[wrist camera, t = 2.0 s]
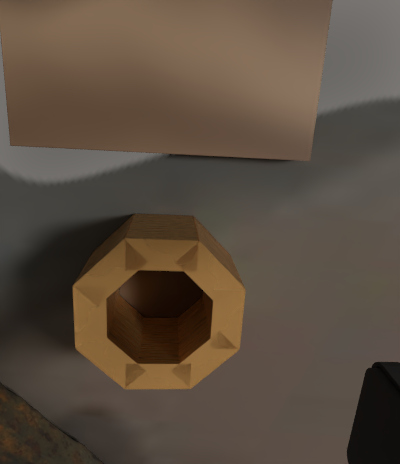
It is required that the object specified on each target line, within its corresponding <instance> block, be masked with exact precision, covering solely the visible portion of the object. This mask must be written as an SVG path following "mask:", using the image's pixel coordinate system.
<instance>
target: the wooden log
mask: <svg viewBox="0 0 400 464" xmlns="http://www.w3.org/2000/svg"><path fill="white" fill-rule="evenodd" d="M0 464H104V463H103V462H102V461H100V460H99V459H98V458H97V457H95V456H94V455H93V454H92V453H91V452H90V451H89V450H87V448H86V447H85V445H82V444H80V443H78V442H76V441H75V440H73V439H71V438H70V437H68V436H67V435H66V434H64V433H63V432H62V431H60V430H59V429H58V428H56V427H55V426H54V425H53V424H52V423H50V422H49V421H48V420H46V419H45V418H44V417H43V416H42V415H41V414H40V413H39V412H38V411H37V410H36V409H34V408H33V407H31V406H30V405H28V404H27V403H26V402H25V401H24V400H23V399H22V398H21V397H19V396H18V395H16V394H14V393H12V392H10V391H9V390H7V389H6V388H5V387H4V386H3V385H2V384H1V383H0Z"/></svg>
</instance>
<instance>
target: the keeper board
mask: <svg viewBox="0 0 400 464" xmlns="http://www.w3.org/2000/svg"><path fill="white" fill-rule="evenodd" d="M332 1H333V0H0V32H1V44H2V55H3V66H4V77H5V88H6V100H7V112H8V123H9V134H10V145H11V146H29V147H49V148H69V149H88V150H108V151H127V152H128V151H129V152H146V153H166V154H185V155H204V156H224V157H243V158H263V159H282V160H302V161H310V157H311V150H312V143H313V136H314V129H315V122H316V115H317V108H318V101H319V93H320V86H321V79H322V71H323V65H324V58H325V51H326V44H327V36H328V30H329V22H330V15H331V8H332Z"/></svg>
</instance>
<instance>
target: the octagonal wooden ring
mask: <svg viewBox="0 0 400 464" xmlns="http://www.w3.org/2000/svg"><path fill="white" fill-rule="evenodd" d="M138 270H153V271H184V272H185V273H186V274H187V275H188V276H189V277H190V278H191V279H192V280H193V281H194V282H195V283H196V284H197V285H198V286H199V287H200V288H201V289H202V290H203V297H202V298H201V299H199V300H198V301H197V302H196V303H195V304H194V305H192V306H191V307H190V308H189V309H188V310H186V311H185V312H184V313H183V314H182V315H181V316H179V317H178V318H156V317H143V316H142V315H141V314H140V313H139V312H137V311H136V310H135V309H134V308H133V307H132V306H131V305H130V304H129V303H128V302H126V301H125V300H124V299H123V298H122V297H121V296H120V295H119V287H120V286H121V285H122V284H123V283H125V282H126V281H127V280H128V279H129V278H130V277H131V276H132V275H134V274H135V273H136V272H137V271H138ZM244 300H245V287H244V285H243V283H242V280H241V278H240V276H239V274H238V271H237V269H236V267H235V264H234V262H233V260H232V258H231V255H230V254H229V253H228V252H227V251H226V250H225V249H224V248H223V247H222V246H221V245H220V244H219V243H218V242H217V241H216V239H215V238H214V237H213V236H212V235H211V234H210V233H209V232H208V231H207V230H206V229H205V228H204V227H203V226H202V225H201V223H200V222H199V221H198V220H197V219H196V218H195V217H193V216H183V215H155V214H135V215H134V214H133V215H132V216H131V217H130V218H129V219H128V220H127V221H126V222H125V223H124V224H123V225H121V226H120V227H119V228H118V229H117V230H116V231H115V232H114V233H113V234H112V235H111V236H109V237H108V238H107V239H106V240H105V241H104V242H103V243H102V244H101V245H100V246H99V247H97V248H96V249H95V250H94V251H93V252H92V254H91V256H90V258H89V259H88V261H87V263H86V264H85V266H84V268H83V269H82V271H81V273H80V274H79V276H78V278H77V279H76V281H75V283H74V285H73V307H74V329H75V348H76V350H78V351H79V352H80V353H81V354H82V355H84V356H85V357H86V358H87V359H89V360H90V361H91V362H92V363H93V364H95V365H96V366H97V367H98V368H100V369H101V370H102V371H103V372H104V373H106V374H107V375H108V376H109V377H111V378H112V379H113V380H114V381H115V382H117V383H118V384H119V385H120V386H122V387H123V388H124V389H125V388H126V389H190V388H192V387H193V386H195V385H196V384H197V383H198V382H200V381H201V380H202V379H203V378H205V377H206V376H207V375H208V374H210V373H211V372H212V371H213V370H215V369H216V368H217V367H218V366H220V365H221V364H222V363H223V362H225V361H226V360H227V359H228V358H230V357H231V356H232V355H233V354H235V353H236V352H237V351H238V350H239V349H240V339H241V329H242V320H243V310H244Z"/></svg>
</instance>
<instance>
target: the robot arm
mask: <svg viewBox="0 0 400 464" xmlns="http://www.w3.org/2000/svg"><path fill="white" fill-rule="evenodd" d="M347 458H348V463H349V464H400V363H398V362H375V363H374V364H373V365H372V368H368V369H367V370H366V373H365V377H364V381H363V385H362V389H361V394H360V398H359V402H358V406H357V410H356V415H355V419H354V423H353V427H352V431H351V435H350V440H349V444H348V448H347Z"/></svg>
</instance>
